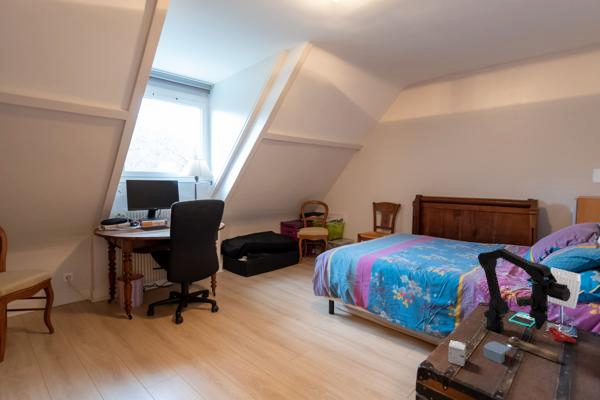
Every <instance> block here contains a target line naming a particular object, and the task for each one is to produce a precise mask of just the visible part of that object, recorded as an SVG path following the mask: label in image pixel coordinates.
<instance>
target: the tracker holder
mask: <svg viewBox="0 0 600 400" xmlns="http://www.w3.org/2000/svg"><path fill="white" fill-rule="evenodd" d="M547 328H548V332H549V334H550V335H551V338H552V339H553V340H554V341H556V342H557V343H562V342H568V343H572V344H576V343H577V340H576V339H575V338H574V337H573V336H572V335H570V334H569V333H567V332H564V331H559V329H558V328H557V327H554V326H552V325H551V326H548V327H547Z"/></svg>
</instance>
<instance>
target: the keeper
mask: <svg viewBox="0 0 600 400" xmlns="http://www.w3.org/2000/svg"><path fill="white" fill-rule="evenodd" d="M511 350H512V348H510V347H508V346H507V345H506V344H502V343H500V342H498V341H494V340H493V341H489V342H487V343H485V344H484V345H483V357H484V358H487V359H488V360H490V361H493V362H495V363H498V364H500V365H502V364H503V363H504V362H505V357H506V356H505V355H506V354H507V353H508V352H511Z"/></svg>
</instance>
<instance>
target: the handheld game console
mask: <svg viewBox="0 0 600 400" xmlns="http://www.w3.org/2000/svg"><path fill="white" fill-rule="evenodd" d="M508 321H509V322H511V323H514V324H518V325H521V326H523V327H525V326H526V327H527V326H529V327H528V328H531V327H532V326H533V325H535V320H534V318H531V317H529V313H526V312H522V311H521V312H518V311H517V313H516V314H514V315H513V316H512V317H511V318H509V319H508Z"/></svg>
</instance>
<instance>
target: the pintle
mask: <svg viewBox="0 0 600 400" xmlns="http://www.w3.org/2000/svg"><path fill="white" fill-rule="evenodd" d="M511 337H512V339H513V340H518V339H519V338H518V337H517V336H511ZM504 345H505V346H507V347H510V348H511V349H514V350H518V349H521V348H519V347H515V346H512V345H510V344H509V340H507V341H505V343H504ZM521 350H522V349H521Z"/></svg>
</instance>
